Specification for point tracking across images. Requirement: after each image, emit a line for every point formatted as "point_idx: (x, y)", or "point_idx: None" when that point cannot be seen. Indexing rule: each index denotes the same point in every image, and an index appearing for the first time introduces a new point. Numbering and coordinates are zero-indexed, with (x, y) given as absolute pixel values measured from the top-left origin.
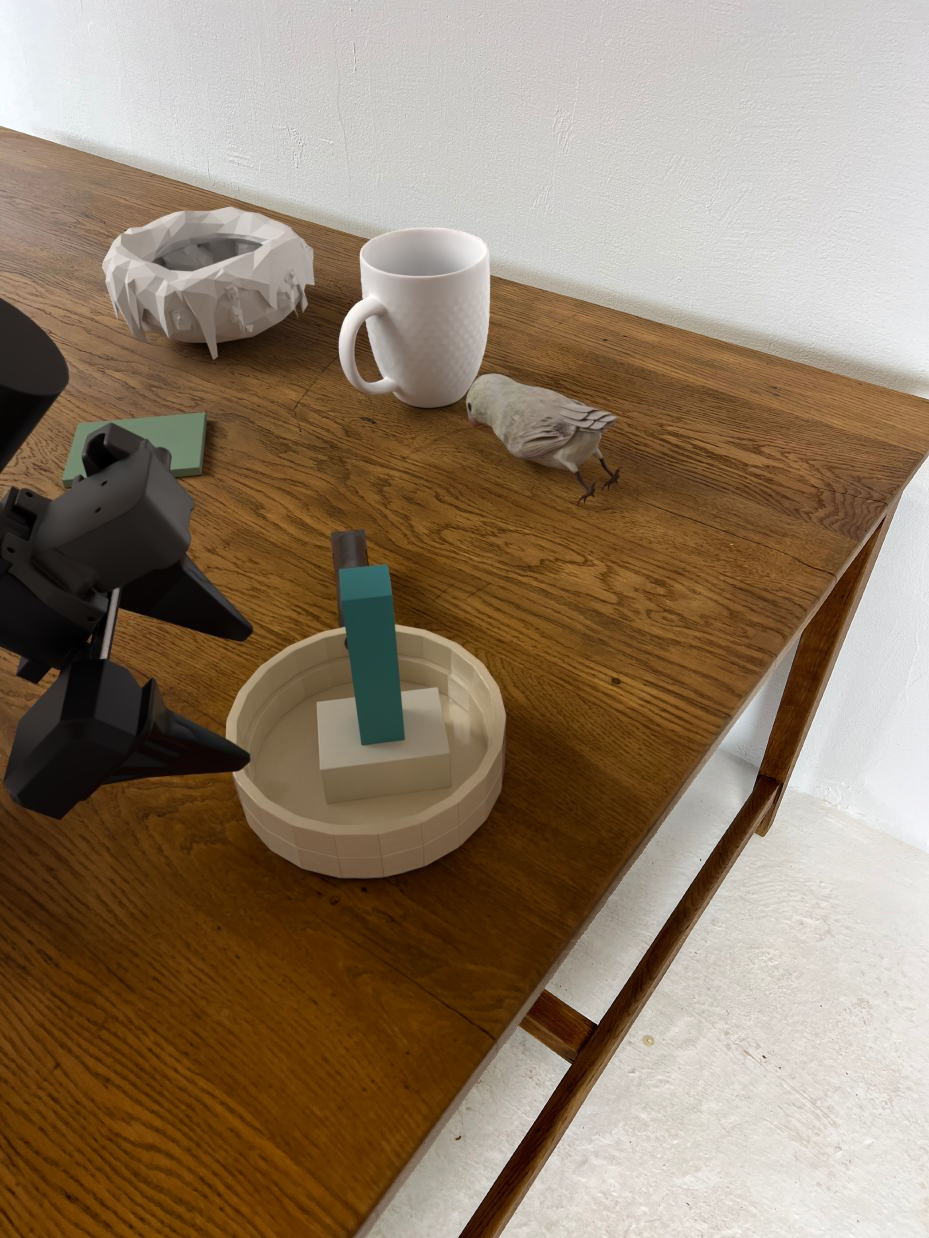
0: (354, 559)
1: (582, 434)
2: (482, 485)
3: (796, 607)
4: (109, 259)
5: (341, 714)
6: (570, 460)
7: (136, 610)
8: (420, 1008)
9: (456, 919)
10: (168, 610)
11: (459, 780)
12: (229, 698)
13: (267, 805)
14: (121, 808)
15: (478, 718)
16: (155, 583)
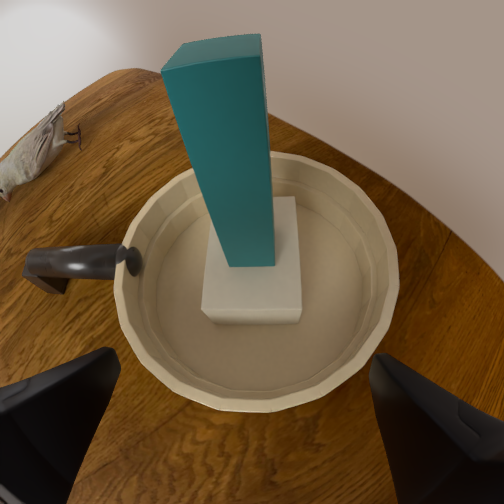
0: (51, 251)
1: (55, 123)
2: (39, 197)
3: None
4: None
5: (226, 284)
6: (60, 139)
7: (65, 496)
8: (446, 264)
9: (395, 238)
10: (66, 457)
11: None
12: (141, 405)
13: (364, 356)
14: (258, 501)
15: None
16: (23, 465)
